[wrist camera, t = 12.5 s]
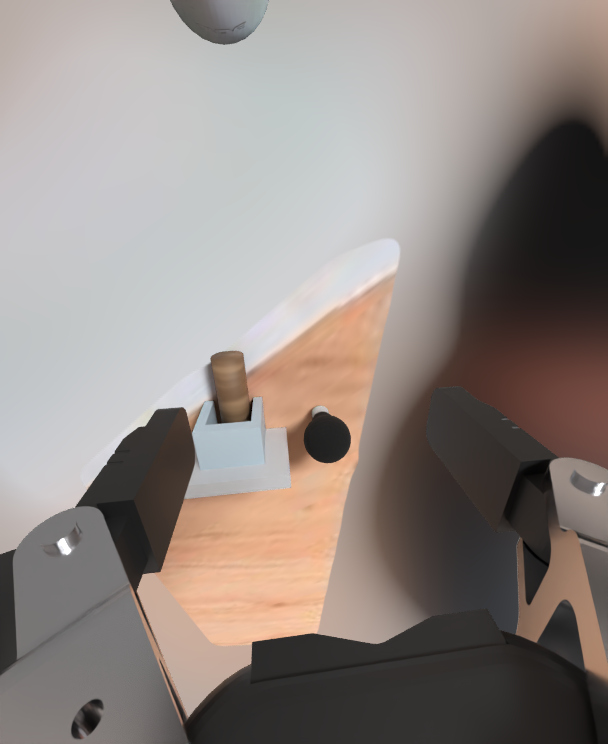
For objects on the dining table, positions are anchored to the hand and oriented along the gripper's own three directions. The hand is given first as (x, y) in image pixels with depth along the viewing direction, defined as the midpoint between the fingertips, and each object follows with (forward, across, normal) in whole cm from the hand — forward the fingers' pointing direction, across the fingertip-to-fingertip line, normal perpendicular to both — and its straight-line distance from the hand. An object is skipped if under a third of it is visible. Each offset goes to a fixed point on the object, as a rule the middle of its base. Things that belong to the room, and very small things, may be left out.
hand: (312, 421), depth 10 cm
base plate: (+29, +8, +21) cm, 36 cm away
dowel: (+29, +8, +14) cm, 33 cm away
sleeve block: (+29, +8, +18) cm, 35 cm away
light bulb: (+29, -4, +18) cm, 35 cm away
